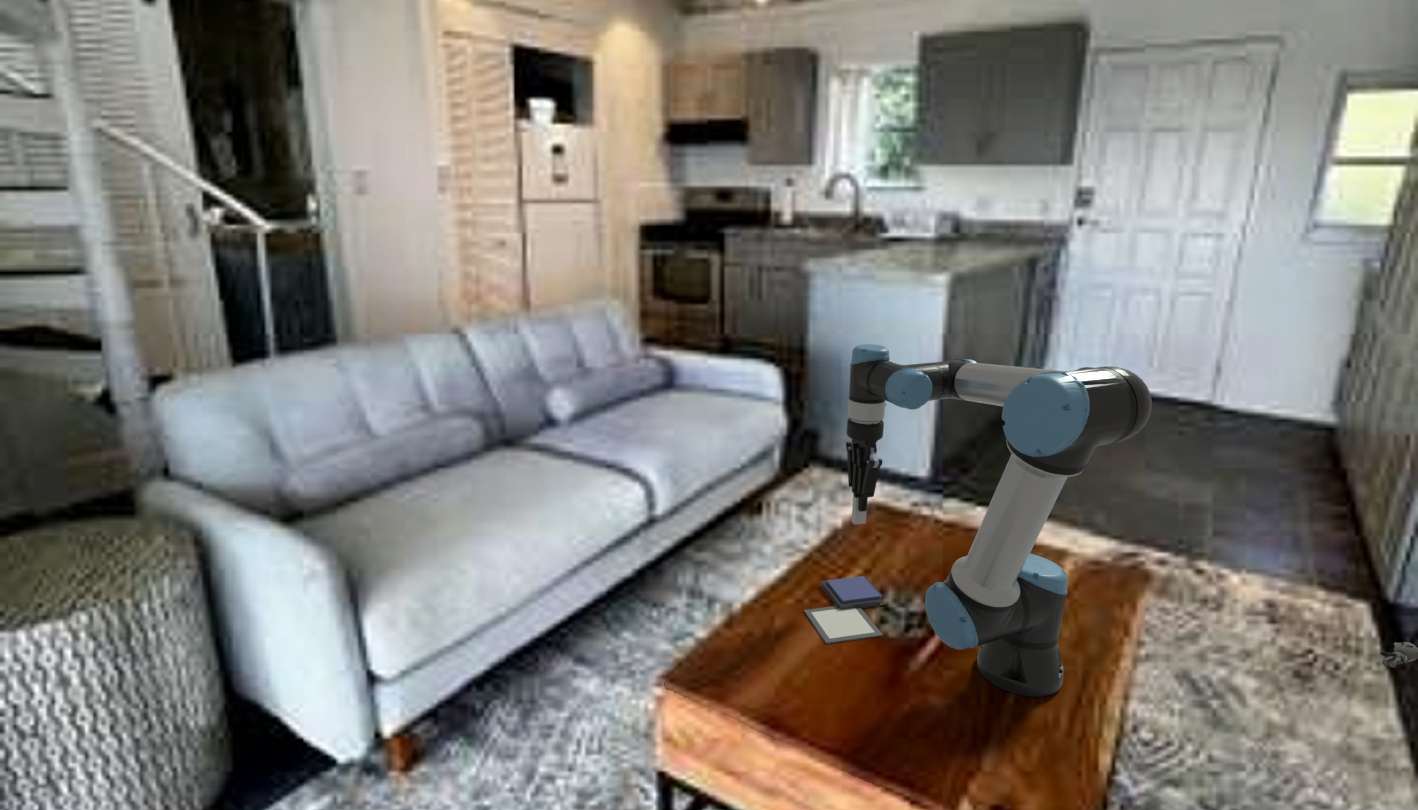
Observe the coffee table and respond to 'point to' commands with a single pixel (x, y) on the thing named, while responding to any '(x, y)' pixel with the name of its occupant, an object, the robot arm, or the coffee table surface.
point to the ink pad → (852, 592)
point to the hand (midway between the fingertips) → (858, 522)
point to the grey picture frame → (842, 624)
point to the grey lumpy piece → (1400, 654)
